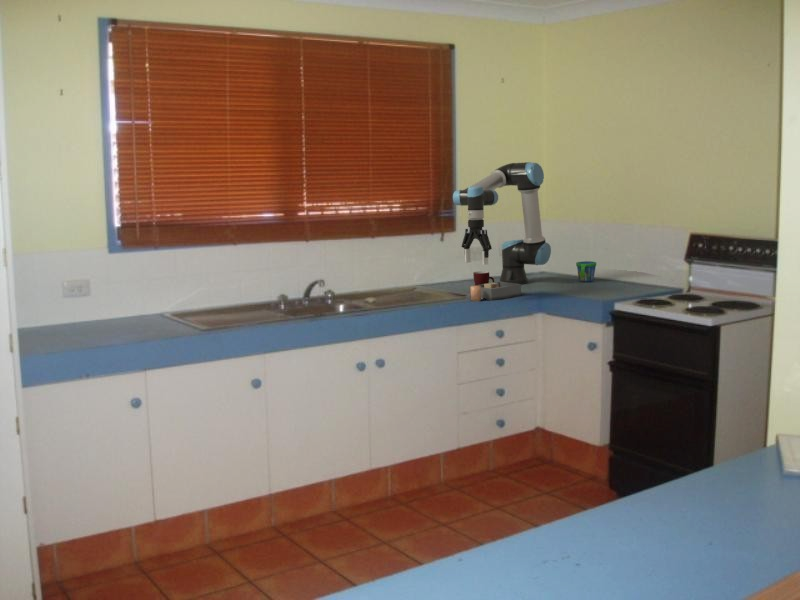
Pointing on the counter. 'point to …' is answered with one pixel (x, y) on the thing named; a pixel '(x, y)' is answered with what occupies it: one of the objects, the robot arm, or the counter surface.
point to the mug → (482, 277)
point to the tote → (500, 291)
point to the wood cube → (491, 285)
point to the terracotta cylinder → (476, 293)
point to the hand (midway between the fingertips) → (476, 263)
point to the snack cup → (586, 271)
